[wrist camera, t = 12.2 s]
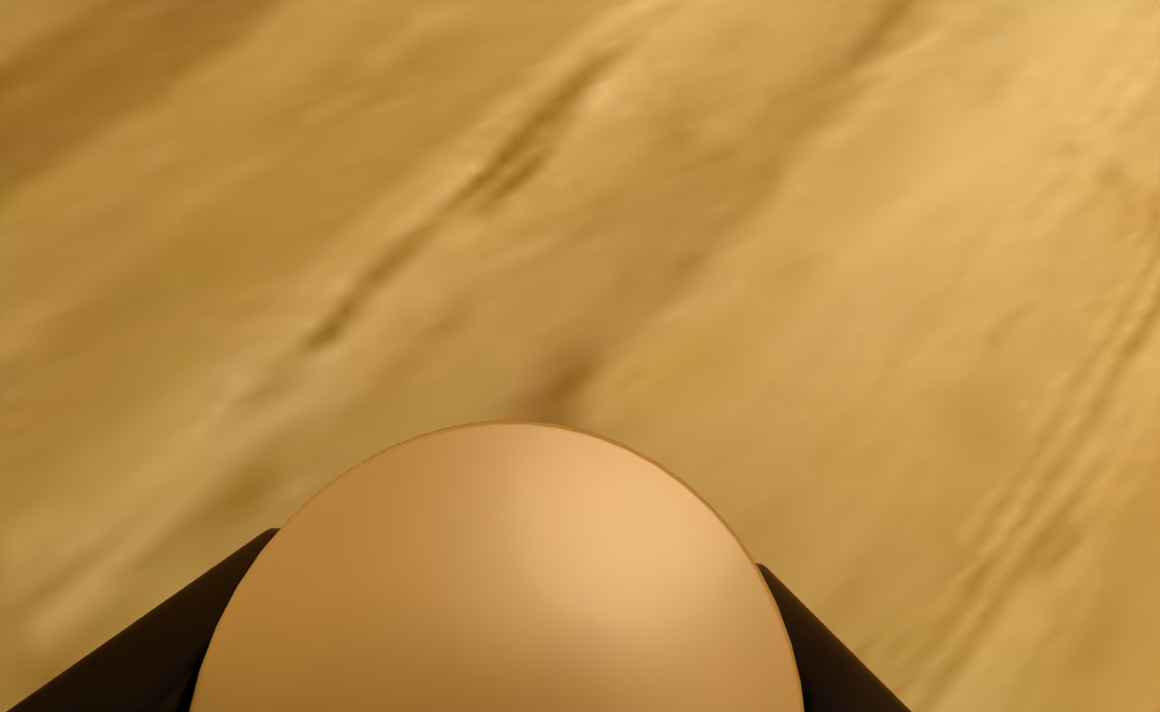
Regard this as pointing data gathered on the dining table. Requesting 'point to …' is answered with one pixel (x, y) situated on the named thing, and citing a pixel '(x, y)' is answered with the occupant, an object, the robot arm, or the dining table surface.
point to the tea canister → (502, 589)
